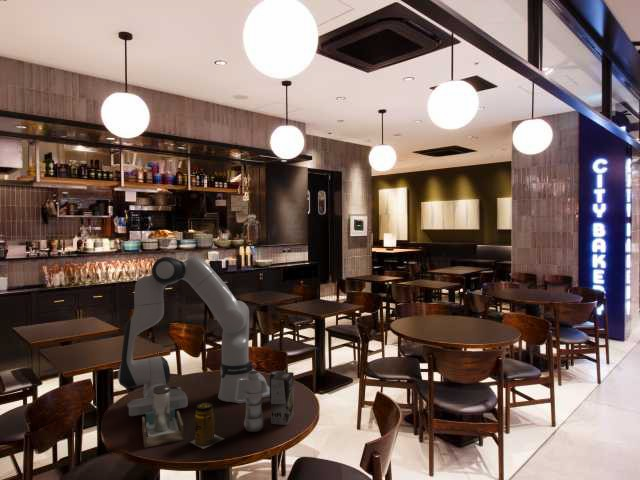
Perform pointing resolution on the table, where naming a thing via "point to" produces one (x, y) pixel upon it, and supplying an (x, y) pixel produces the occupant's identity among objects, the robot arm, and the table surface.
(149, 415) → the tray
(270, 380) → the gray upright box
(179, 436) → the housing
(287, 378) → the coffee box
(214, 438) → the condiment
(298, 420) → the table surface
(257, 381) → the plastic bottle
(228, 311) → the robot arm
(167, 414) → the canister
